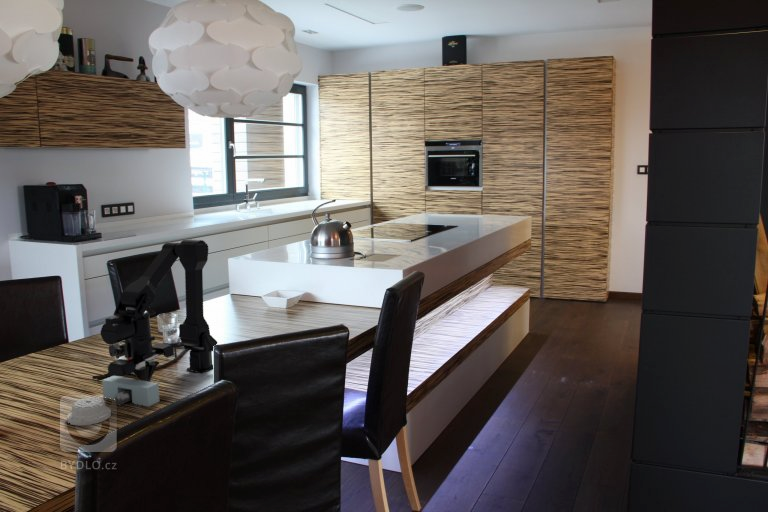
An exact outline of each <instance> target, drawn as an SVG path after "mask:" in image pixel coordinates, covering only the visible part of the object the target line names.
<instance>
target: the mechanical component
mask: <svg viewBox="0 0 768 512" xmlns="http://www.w3.org/2000/svg"><path fill="white" fill-rule="evenodd" d="M66 416H67V417H66V419H67V423H68V424H69V423H70V424H69V425H72V426H80V427H81V426H90V425H95V424H99V423H102V422H104V421H107V419H110V417H111V416H112V411H111V408H110V407H108V406H106V402H105V398H103V397H94V396H92V397H84V398H81V399H77V400H76V402H72V405H71V412H70V413H68V414H67V415H66Z"/></svg>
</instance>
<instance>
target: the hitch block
mask: <svg viewBox="0 0 768 512" xmlns="http://www.w3.org/2000/svg"><path fill="white" fill-rule="evenodd" d="M101 382H102V384H101V385H102V394H103V395H102V398H103V397H106V398H105V399H107V398H111V399H110V400H112V399H115V395H116V394H118V393H121V392H123V391H125V390H128V389H130V390H132V400H131V401H132V402H131V403H132V404H133V403H134V404H133V405H137V404H138V406H142V405H143V406H144V407H147V408H148V407H151V406H153V405H155V404H157V403H160V387H159V383H158V382H152V381H150V382H148V381H142V380H138V378H137V379H136V378H132V379H131V378H130V377H125V376H120V375H111V376H110V377H109V376H108V377H107V378H104V379H101Z"/></svg>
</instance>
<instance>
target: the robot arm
mask: <svg viewBox="0 0 768 512" xmlns="http://www.w3.org/2000/svg"><path fill="white" fill-rule="evenodd" d="M178 259H179V262H180V264H181V266H182V267H183V269H184V279H185V280H184V282H185V288H184V289H185V319H184V321H183V323H180V324H179V325H178V331H179V335H178V338H179V339H180V342H181V344H182V346H183V348H184V350H189V357H188V358H189V359H188V360H189V367H187V368H186V371H189V372H195V373H206V372H208V371H210V370H212V369H214V368H213V365H214V364H213V354H212V352H214V351H213V346H214V345H216V344H217V345H218V341H217V340H216V339H215V338H214V337H213V336H212V335H211V331H210V325H209V324H208V322H207V321H206V319H205V317H204V285H203V283H204V282H203V279H204V278H203V269H204V267H205V266H206V263H207V262H208V259H209V245H208V244H207V242H206V241H204V240H202V239H186V238H185V239H182V241H180V242H168V241H167V242H165V243H163V245H162V246H161V250H160V252H159V253H158V254H157V255H156V256H155V258H154V260H152V262H151V263H150V265H149V266H148V267H147V268H146V270H145V271H144V272H143V274H142V275H141V276H140V277H139V278H138V279H137V280H134V281H133V282H131V283H130V284H128V286H126V287H125V288H124V289H123V290H122V292H121V294H120V298H119V300H118V302H117V304H116V308H115V309H114V311H113V316H112V317H107V318H105V321H104V322H105V323H104V324H103V325H102V327H101V330H100V336H101V340H102V341H104V343H105V344H106V345H109V346H108V353H109V356H110V357H111V358H114V357H115V358H116V360H114V361H112V362H109V363H108V365H107V373H108V374H110V375H114V376H120V377H125V376H128V375H130V374H131V373H133V372H134V373H135V375H134V376H136V378H137V380H143V381H148V382H151V380H152V376H153V375H154V373H155V371H156V369H157V366H158V365H160V361H156V357H159V356H161V355H163V356H164V357H165V358H170V357H172V356H175V351H174V349H175V348H174V347H173V346H172V345H171V344H164V343H156V344H154V345H153V343H152V342H153V341H155V339H156V338H155V337H156V336H155V335H152V332H151V331H152V330H151V320H150V319H151V318H150V316H153V315H155V314H156V311H155V310H154V309H152V308H151V306H152V304H153V302H154V300H155V298H156V296H157V288H158V287H159V286H160V284H161V282H162V280H163V279H164V278H165V276H166V275H167V274H168V273H169V271H170V270H171V268H172V267H173V266H174V264H175V263H176V261H177V260H178ZM121 342H124V344H119V343H121ZM122 357H124V358H131V360H126V359H123V358H122ZM131 375H132V374H131Z"/></svg>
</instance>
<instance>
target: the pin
mask: <svg viewBox="0 0 768 512" xmlns="http://www.w3.org/2000/svg"><path fill="white" fill-rule="evenodd" d="M131 379H133V378H131ZM142 381H143V380H142ZM114 401H115V403H116V404H117V405H119V404H121V405H124V404H126V403H128V402H130V401H132V390H130V389H128V390H125V391H123V392H121V393H118V394H116V395H115V400H114ZM121 405H120V406H121Z"/></svg>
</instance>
